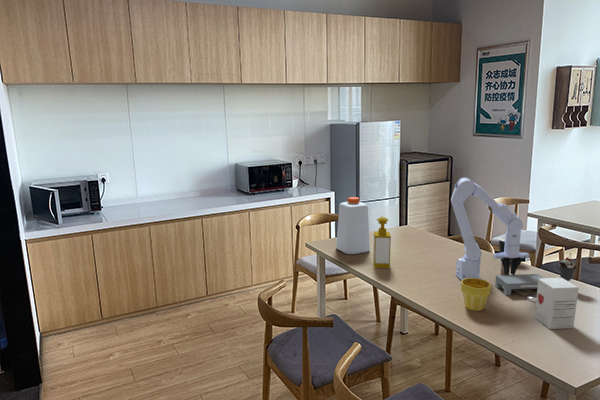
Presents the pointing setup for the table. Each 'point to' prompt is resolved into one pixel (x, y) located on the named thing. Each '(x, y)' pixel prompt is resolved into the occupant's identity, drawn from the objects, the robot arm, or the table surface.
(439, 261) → the table surface
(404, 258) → the table surface
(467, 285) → the plant pot
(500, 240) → the dixie cup
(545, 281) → the supplement box
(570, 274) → the sundae
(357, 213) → the plastic bottle
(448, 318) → the table surface
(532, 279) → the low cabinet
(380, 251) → the soap bottle
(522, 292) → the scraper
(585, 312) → the table surface
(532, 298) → the steel disc
